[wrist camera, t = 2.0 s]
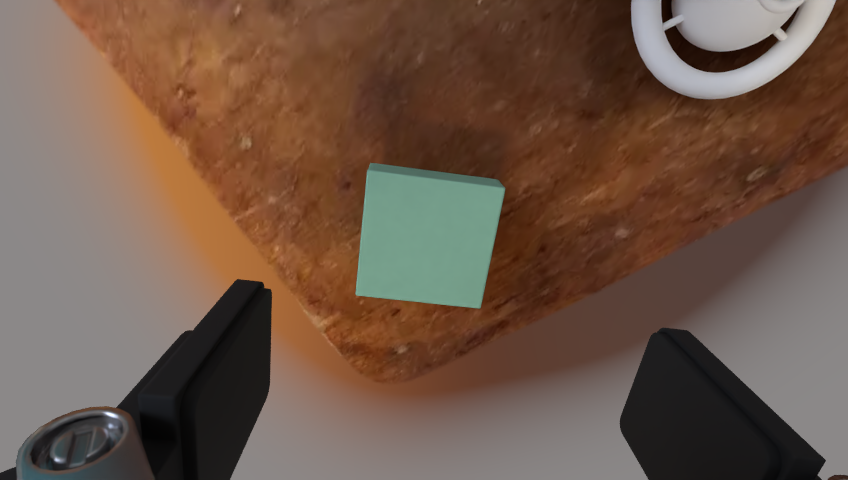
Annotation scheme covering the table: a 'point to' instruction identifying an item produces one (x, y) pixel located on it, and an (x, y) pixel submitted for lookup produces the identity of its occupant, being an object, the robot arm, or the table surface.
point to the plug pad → (427, 235)
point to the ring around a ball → (725, 40)
